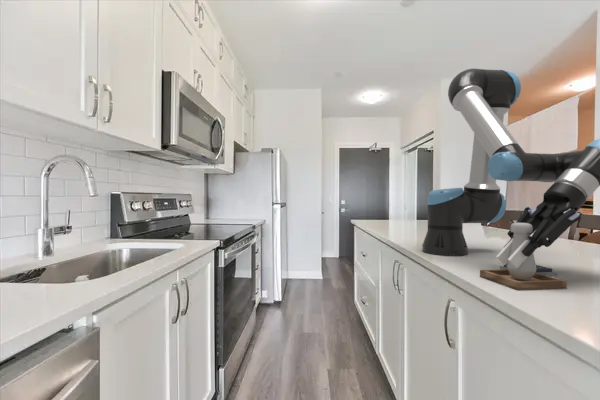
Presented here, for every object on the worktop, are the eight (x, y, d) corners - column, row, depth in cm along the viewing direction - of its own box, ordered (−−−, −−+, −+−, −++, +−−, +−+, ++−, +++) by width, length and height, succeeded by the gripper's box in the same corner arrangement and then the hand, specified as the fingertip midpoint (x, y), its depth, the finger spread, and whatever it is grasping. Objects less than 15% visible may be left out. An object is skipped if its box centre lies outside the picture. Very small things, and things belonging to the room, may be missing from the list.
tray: (479, 276, 82) (480, 269, 82) (522, 275, 84) (522, 268, 84) (517, 290, 70) (517, 282, 70) (566, 288, 72) (566, 280, 72)
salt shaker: (526, 275, 79) (527, 222, 79) (542, 281, 74) (542, 224, 74) (501, 274, 80) (502, 221, 80) (515, 280, 74) (515, 223, 74)
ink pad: (499, 268, 92) (499, 262, 92) (528, 267, 93) (528, 262, 93) (525, 275, 83) (525, 270, 83) (556, 274, 84) (557, 269, 84)
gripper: (614, 203, 71) (546, 282, 69) (549, 202, 87) (491, 266, 84) (594, 179, 70) (524, 257, 68) (531, 182, 86) (473, 246, 84)
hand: (506, 262), depth 76 cm, fingers closed on salt shaker, 3 cm apart
